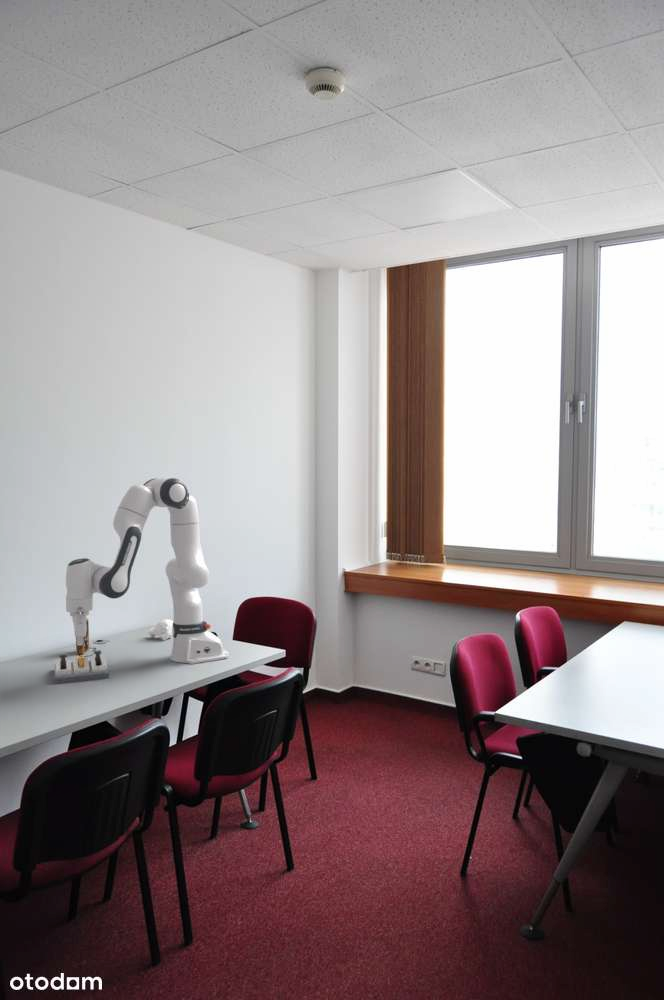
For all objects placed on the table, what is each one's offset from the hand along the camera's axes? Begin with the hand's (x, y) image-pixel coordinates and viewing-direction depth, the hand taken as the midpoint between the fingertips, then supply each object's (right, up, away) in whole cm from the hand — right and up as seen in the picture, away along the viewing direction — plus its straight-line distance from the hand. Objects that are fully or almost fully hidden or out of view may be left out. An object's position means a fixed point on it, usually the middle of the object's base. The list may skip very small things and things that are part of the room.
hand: (79, 644), depth 258 cm
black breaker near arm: (+2, -10, +15) cm, 18 cm away
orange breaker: (-1, -10, +6) cm, 12 cm away
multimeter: (-9, -11, +40) cm, 42 cm away
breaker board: (-3, -12, +9) cm, 16 cm away
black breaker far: (-10, -10, +10) cm, 17 cm away
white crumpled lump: (+14, -10, +62) cm, 64 cm away
